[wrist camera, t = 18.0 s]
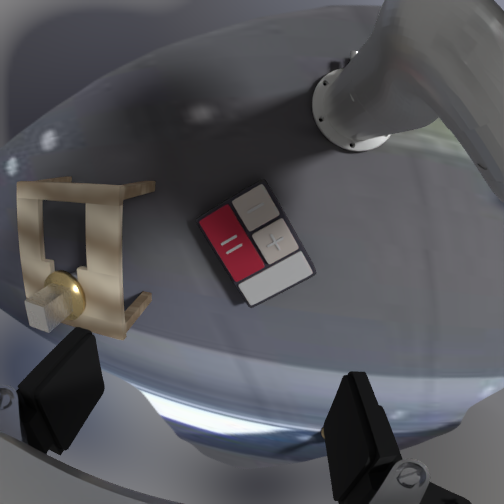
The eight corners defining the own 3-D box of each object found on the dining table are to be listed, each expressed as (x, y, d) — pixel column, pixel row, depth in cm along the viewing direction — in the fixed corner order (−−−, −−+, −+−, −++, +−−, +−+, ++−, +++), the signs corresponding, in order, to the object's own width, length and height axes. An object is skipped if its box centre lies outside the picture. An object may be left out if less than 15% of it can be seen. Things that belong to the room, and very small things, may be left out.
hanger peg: (78, 248, 42) (13, 284, 27) (114, 254, 42) (52, 296, 27) (81, 288, 44) (24, 333, 29) (116, 295, 44) (62, 348, 29)
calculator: (263, 178, 38) (318, 275, 40) (264, 178, 42) (314, 266, 45) (192, 220, 40) (249, 311, 42) (200, 216, 44) (251, 299, 47)
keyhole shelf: (64, 175, 42) (16, 181, 31) (157, 179, 42) (119, 186, 30) (67, 284, 48) (29, 311, 36) (152, 302, 48) (123, 340, 36)
